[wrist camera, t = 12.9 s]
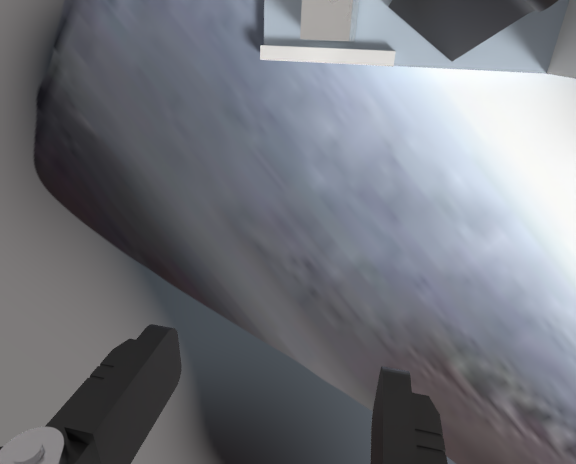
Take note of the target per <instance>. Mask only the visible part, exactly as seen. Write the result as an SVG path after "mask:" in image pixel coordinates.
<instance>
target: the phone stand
mask: <svg viewBox="0 0 576 464" xmlns="http://www.w3.org/2000/svg"><path fill="white" fill-rule="evenodd" d="M557 1H558V0H392V1H391V3H390V5H389V6H388V7H389V8H390V9H391V10H392V11H394V12H395V13H396V14H397V15H398V16H399V17H400V18H402V19H403V20H404V21H405V22H406V23H407V24H409V25H410V26H411V27H412V28H413V29H414V30H416V31H417V32H418V33H419V34H420V35H421V36H422V37H424V38H425V39H426V40H427V41H428V42H429V43H431V44H432V45H433V46H434V47H435V48H436V49H438V50H439V51H440V52H441V53H442V54H443V55H445V56H446V57H447V58H448V59H449V60H450V61H451V62H452V61H454V60H455V59H457V58H459V57H460V56H462V55H463V54H465V53H467V52H468V51H470V50H471V49H473V48H475V47H476V46H478V45H479V44H481V43H482V42H484V41H486V40H487V39H489V38H490V37H492V36H494V35H495V34H497V33H498V32H500V31H501V30H503V29H505V28H506V27H508V26H509V25H511V24H513V23H514V22H516V21H517V20H519V19H520V18H522V17H524V16H525V15H527V14H529V13H531V12H534V11H538V12H541V11H544V10H546V9H547V8H549V7H550V6H552V5H553V4H554V3H556V2H557Z"/></svg>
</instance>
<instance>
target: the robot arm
mask: <svg viewBox="0 0 576 464" xmlns="http://www.w3.org/2000/svg"><path fill="white" fill-rule="evenodd" d="M180 374H181V358H180V350H179V342H178V334H177V331H176V330H175V329H174V328H169V327H163V326H158V325H149V326H148V327H147V328H145V330H144V331H143V332H142V333H141V335H140V336H139V337H138V338H137V339H136V340H133V339H128V340H127V341H125V342H124V343H122V344H121V345H119V346H117V347H116V348H114V349H113V350H112V351H111V352H110V353H109V354H108V356H107V357H106V358H105V359H104V360H103V362H102V363H101V364H100V366H98V367H97V368H96V369H95V370H94V371H93V373H92V374H91V375H90V378H87V380H86V381H85V382H84V383H83V384H82V385H81V386H80V387H79V389H78V390H77V391H76V392H75V393H74V394H73V396H72V397H71V398H70V399H69V400H68V401H67V402H66V403H65V405H64V406H63V407H62V408H61V409H60V410H59V411H58V412H57V414H56V415H55V416H54V417H53V418H52V419H51V421H50V422H49V423H48V424H47V425H46V426H45V427H38V428H33V429H30V430H27V431H25V432H23V433H21V434H19V435H18V436H16V437H14V438H13V439H12V440H10V441H9V442H8V443H7V444H6V445H5V446H3V447H0V464H131V462H132V460H133V459H134V457H135V455H136V454H137V452H138V450H139V449H140V447H141V445H142V443H143V442H144V440H145V439H146V437H147V435H148V433H149V432H150V430H151V429H152V427H153V425H154V424H155V422H156V420H157V418H158V417H159V415H160V414H161V412H162V410H163V408H164V407H165V405H166V403H167V402H168V400H169V398H170V397H171V395H172V393H173V392H174V390H175V388H176V386H177V384H178V382H179V379H180ZM371 464H447V458H446V455H445V445H444V439H443V433H442V426H441V420H440V414H439V413H438V411H437V409H436V408H435V406H434V404H433V403H432V401H431V399H430V398H429V396H426V395H421V394H415V393H412V390H411V379H410V373H409V371H404V370H398V369H393V368H387V367H381V369H380V374H379V379H378V385H377V390H376V395H375V401H374V406H373V414H372V426H371Z"/></svg>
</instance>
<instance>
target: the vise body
mask: <svg viewBox="0 0 576 464" xmlns="http://www.w3.org/2000/svg"><path fill="white" fill-rule="evenodd" d="M391 1H392V0H359V6H358V15H357V25H356V35H355V42H350V41H325V40H306V39H300V30H301V8H302V0H264V45H260V60H277V61H297V62H316V63H336V64H356V65H376V66H408V67H428V68H448V69H468V70H488V71H508V72H528V73H547V74H553V75H558V76H564V77H570V78H576V0H558V1H557V2H556V3H554V4H553V5H552V6H550V7H549V8H547V9H546V10H544V11H541V12H538V11H534V12H531V13H529V14H527V15H525V16H524V17H522V18H520V19H519V20H517V21H516V22H514V23H513V24H511V25H509V26H508V27H506V28H505V29H503V30H501V31H500V32H498V33H497V34H495V35H494V36H492V37H490V38H489V39H487V40H486V41H484V42H482V43H481V44H479V45H478V46H476V47H475V48H473V49H471V50H470V51H468V52H467V53H465V54H463V55H462V56H460V57H459V58H457V59H455V60H454V61H452V62H451V61H450V60H449V59H448V58H447V57H446V56H445V55H443V54H442V53H441V52H440V51H439V50H438V49H436V48H435V47H434V46H433V45H432V44H431V43H429V42H428V41H427V40H426V39H425V38H424V37H422V36H421V35H420V34H419V33H418V32H417V31H416V30H414V29H413V28H412V27H411V26H410V25H409V24H407V23H406V22H405V21H404V20H403V19H402V18H400V17H399V16H398V15H397V14H396V13H395V12H394V11H392V10H391V9H390V8H389V7H388V6H389V5H390V3H391Z"/></svg>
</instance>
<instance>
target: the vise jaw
mask: <svg viewBox="0 0 576 464" xmlns="http://www.w3.org/2000/svg"><path fill="white" fill-rule="evenodd" d="M358 6H359V0H302V8H301V30H300V39H306V40H325V41H350V42H355V35H356V25H357V15H358Z"/></svg>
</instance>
